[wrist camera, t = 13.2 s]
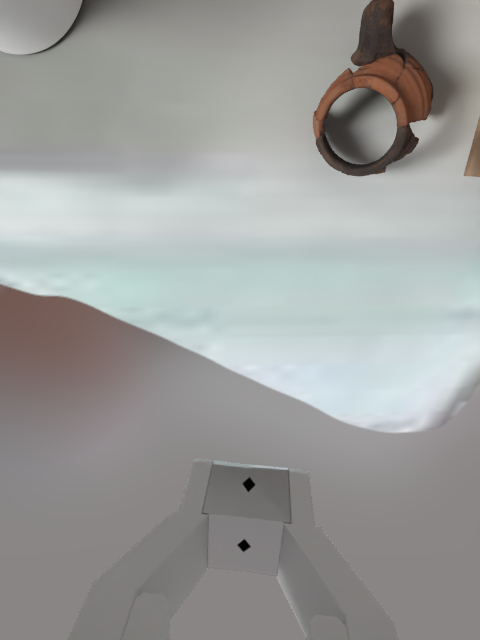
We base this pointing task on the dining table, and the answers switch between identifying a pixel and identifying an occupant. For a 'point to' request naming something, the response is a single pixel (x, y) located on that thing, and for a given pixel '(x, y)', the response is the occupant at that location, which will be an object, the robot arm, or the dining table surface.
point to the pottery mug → (379, 88)
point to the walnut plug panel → (474, 156)
